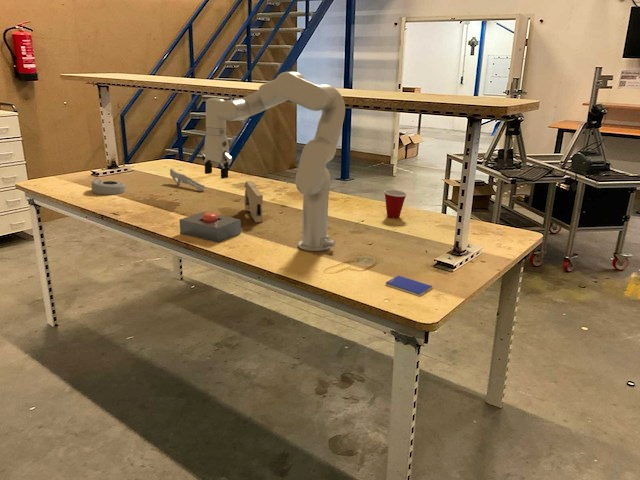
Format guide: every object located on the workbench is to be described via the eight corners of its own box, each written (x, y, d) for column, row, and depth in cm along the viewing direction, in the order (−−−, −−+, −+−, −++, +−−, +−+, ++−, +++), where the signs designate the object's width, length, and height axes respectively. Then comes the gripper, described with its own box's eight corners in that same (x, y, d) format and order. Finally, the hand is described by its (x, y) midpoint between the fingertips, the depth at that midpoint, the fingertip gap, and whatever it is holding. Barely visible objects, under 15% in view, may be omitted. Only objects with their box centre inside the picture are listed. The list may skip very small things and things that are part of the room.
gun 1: (172, 180, 298) (172, 167, 294) (204, 198, 281) (205, 185, 278) (169, 181, 296) (170, 168, 293) (202, 199, 280) (203, 185, 277)
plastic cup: (403, 221, 235) (405, 195, 231) (380, 218, 238) (381, 193, 234) (406, 215, 245) (409, 190, 241) (384, 212, 248) (386, 188, 244)
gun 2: (243, 208, 248) (243, 178, 242) (250, 208, 249) (250, 178, 243) (255, 227, 227) (256, 195, 221) (263, 227, 228) (263, 194, 222)
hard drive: (385, 282, 165) (419, 293, 158) (399, 274, 171) (432, 285, 164) (385, 286, 165) (419, 298, 158) (398, 279, 171) (432, 289, 164)
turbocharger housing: (121, 197, 268) (127, 191, 282) (121, 185, 266) (127, 179, 280) (87, 195, 265) (95, 189, 279) (86, 183, 263) (94, 177, 277)
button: (220, 221, 210) (220, 214, 209) (210, 224, 205) (210, 217, 204) (209, 219, 213) (209, 212, 212) (199, 222, 208) (199, 215, 207)
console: (240, 233, 211) (240, 219, 210) (217, 242, 200) (217, 228, 198) (204, 225, 221) (203, 211, 219) (180, 233, 209) (179, 219, 208)
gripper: (238, 134, 195) (238, 178, 201) (209, 128, 205) (209, 170, 211) (223, 135, 190) (223, 181, 195) (193, 129, 200) (194, 173, 205)
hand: (216, 175), depth 203 cm, fingers open, 9 cm apart
